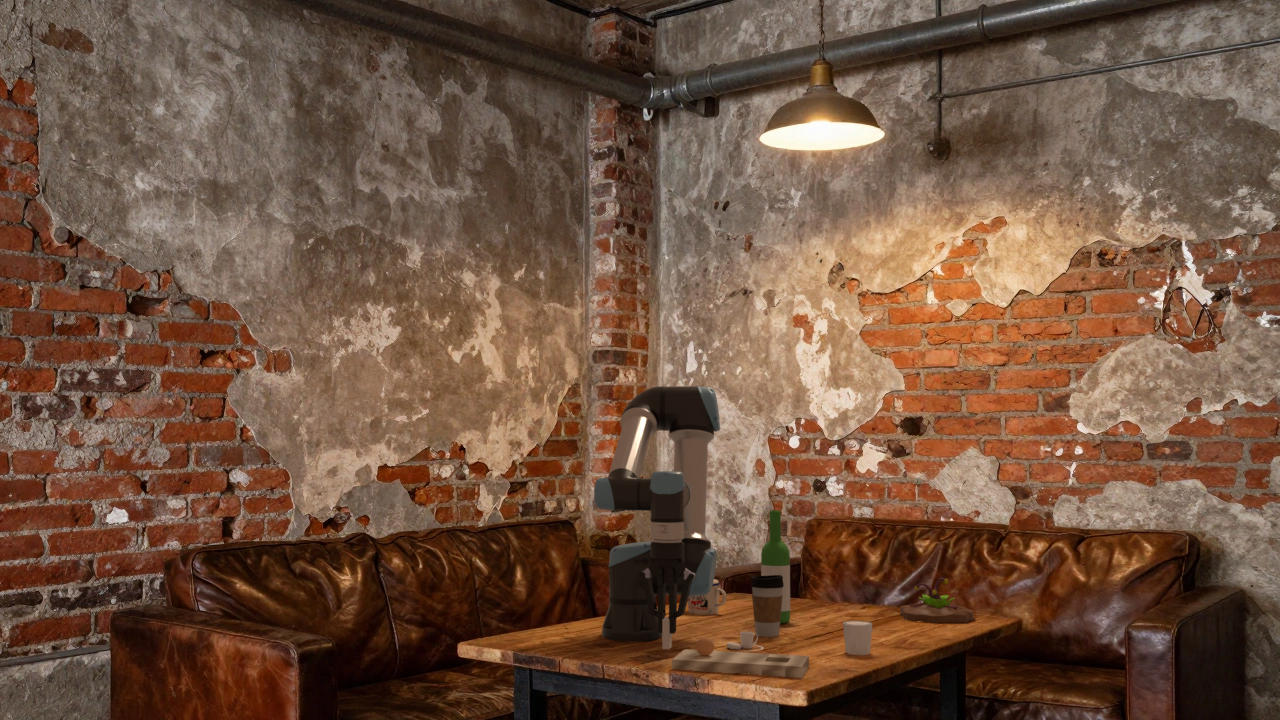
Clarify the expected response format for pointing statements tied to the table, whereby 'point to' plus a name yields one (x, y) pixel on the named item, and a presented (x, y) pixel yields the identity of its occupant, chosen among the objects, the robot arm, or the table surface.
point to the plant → (936, 608)
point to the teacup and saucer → (744, 641)
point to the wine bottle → (777, 562)
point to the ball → (705, 646)
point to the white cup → (857, 637)
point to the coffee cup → (767, 604)
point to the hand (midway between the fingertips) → (667, 648)
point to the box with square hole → (743, 663)
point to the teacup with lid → (707, 601)
